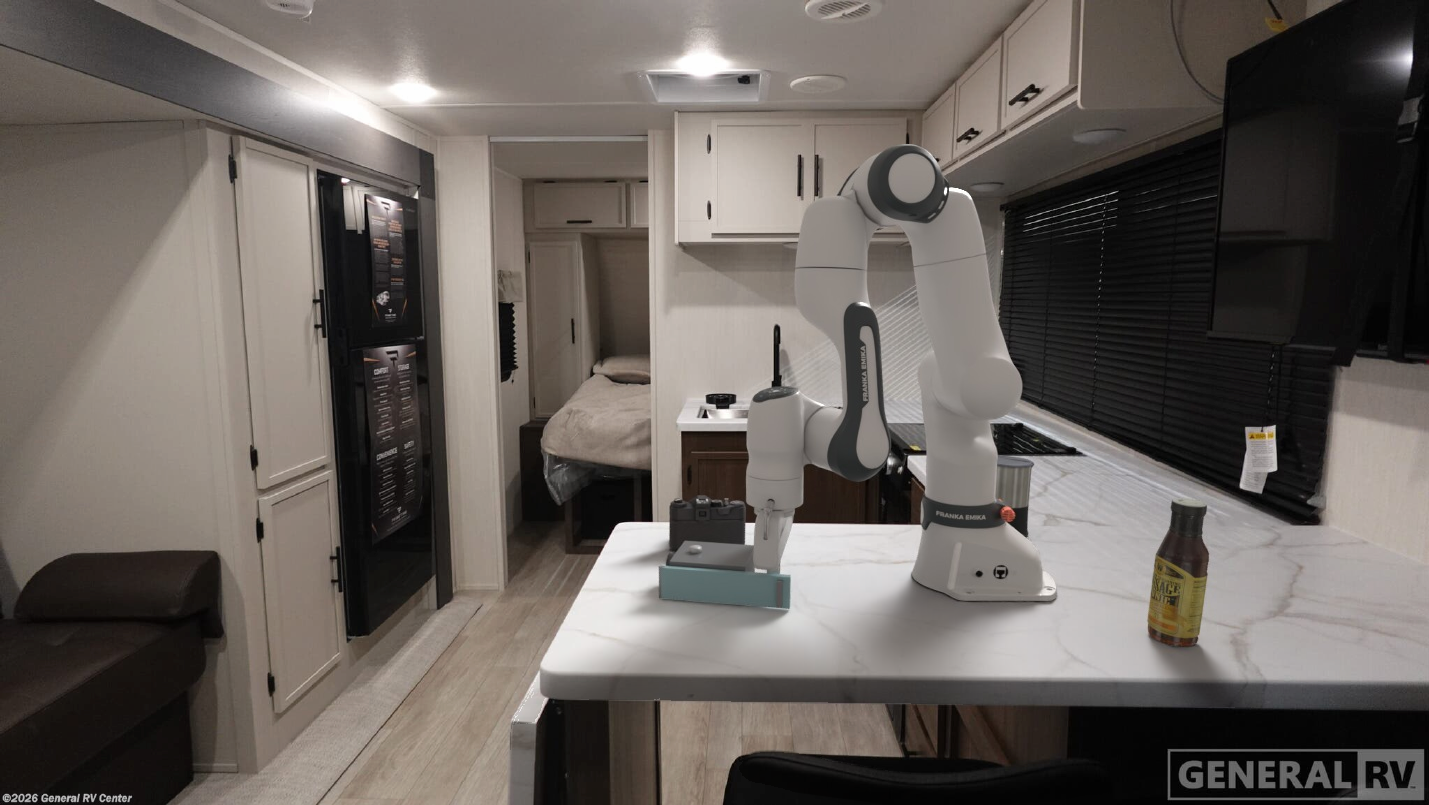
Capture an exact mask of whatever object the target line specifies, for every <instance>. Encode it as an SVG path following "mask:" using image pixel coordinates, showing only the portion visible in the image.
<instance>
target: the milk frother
mask: <svg viewBox="0 0 1429 805" xmlns="http://www.w3.org/2000/svg"><path fill="white" fill-rule="evenodd" d="M1034 466H1035V462H1034V461H1032V460H1031V459H1028V458H1024V457H1018V456H1012V455H1011V456H1009V455H998V459H997V477H996V495H995V498H997V499H1000V500H1001V501H1002V502H1004V503H1005V504H1007V506H1008V507H1010V508H1011V509H1012V510H1013V512H1014V513H1015V514H1014V515H1015V519H1012V520H1013V521H1010V522H1007V521H1006V522H1007V523H1008V524H1010V525H1011V526H1012V527H1013V528H1015V529H1016V530H1017V531H1018V532H1019V533H1021V534H1022V535H1023V536H1024V537H1026V538H1027V536H1028V535H1029V530H1028V526H1029V525H1028V522H1029V506H1030V504H1029V503H1030V494H1031V493H1030V492H1031V490H1030V489H1031V481H1032V480H1031V479H1032V469H1033V467H1034Z"/></svg>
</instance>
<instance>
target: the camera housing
mask: <svg viewBox="0 0 1429 805" xmlns="http://www.w3.org/2000/svg"><path fill="white" fill-rule="evenodd" d="M753 552H754V544H745V545H742V544H727V543H712V542H697V541H684V542H683V544H682V545H681V547H680V548H679V549H678V551H677V552H672V551H670V552H669V553H668V555H667V557H666V562H665V566H677V567H691V568H704V569H718V570H731V571H745V572H756V568H755V567H754V563H753Z"/></svg>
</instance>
